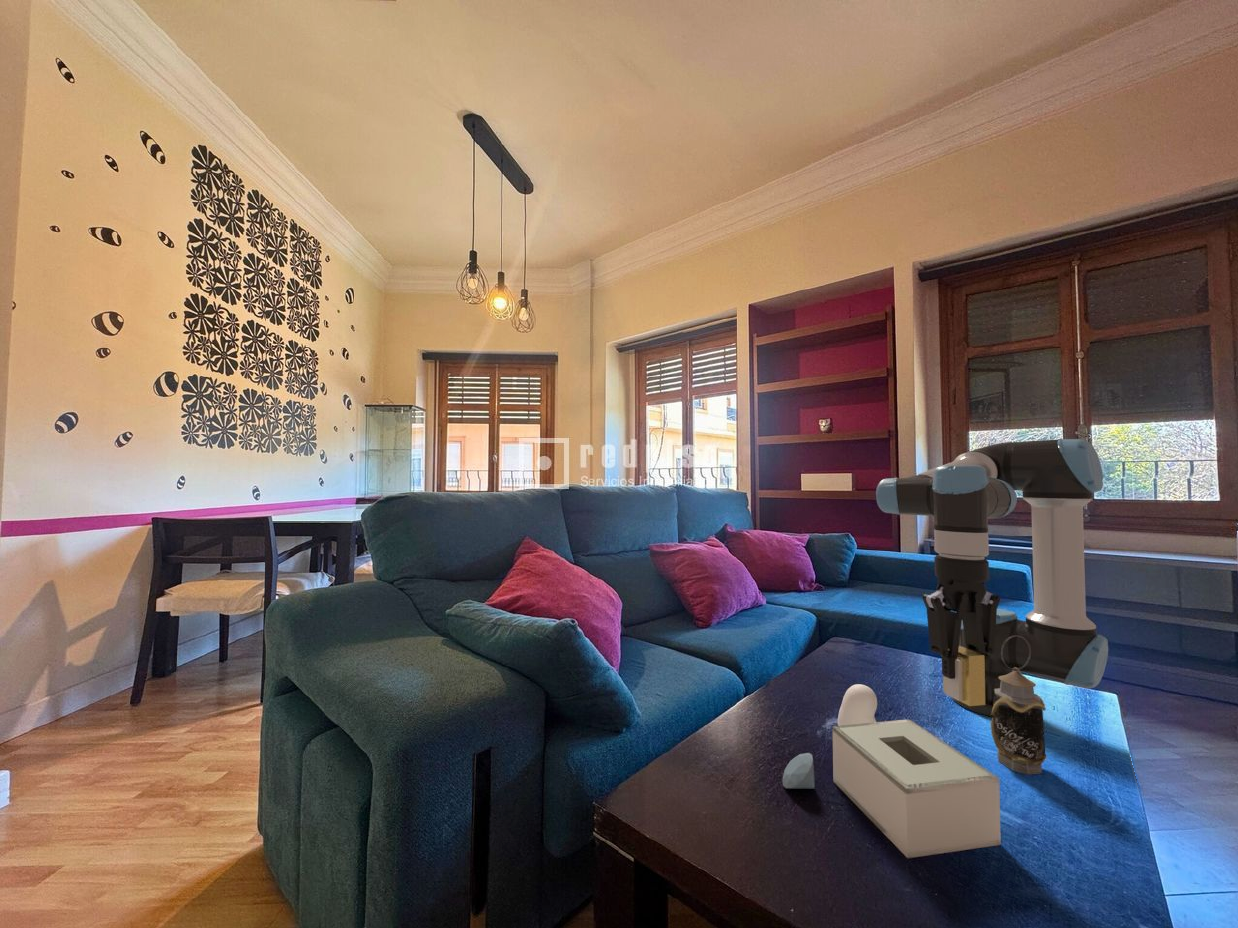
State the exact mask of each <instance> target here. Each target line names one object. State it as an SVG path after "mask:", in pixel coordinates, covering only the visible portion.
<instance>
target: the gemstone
mask: <svg viewBox="0 0 1238 928" xmlns="http://www.w3.org/2000/svg"><path fill="white" fill-rule="evenodd" d="M814 768H815V767H814V757H813V755H812V753H810V752H805V753H799V754H798V755H796V756H795V757H794V758H792V759H791V760H790V761H789V763H787V765H786V767H785V768H784V771H783V775H782V787H784V788H785V789H813V790H814V789H815V771H814V770H815V769H814Z"/></svg>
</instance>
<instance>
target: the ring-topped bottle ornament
mask: <svg viewBox="0 0 1238 928" xmlns="http://www.w3.org/2000/svg"><path fill="white" fill-rule="evenodd" d="M1012 637H1021V638H1023V637H1022V636H1019V635H1015V636H1011V637H1009V638H1008V639H1006V640H1005V642H1004V643H1003V645H1002V649H1001V658H1002V661H1003V663H1004V664H1005V665H1006V663H1005V661H1004V659H1003V648H1004V645H1005V643H1006V642H1007V641H1008V640H1009V639H1010V638H1012ZM1023 639H1024V640H1025V641H1026V642H1027V644H1028V647H1029V658H1028V660H1027V662H1026V664H1025V665H1024V666H1022V667H1021V668H1019V669H1018V668H1016V667H1015V668H1010V667H1008V666H1007V665H1006V666H1007V667H1008V668H1009V669H1011V670H1012V672H1011V673H1009V674H1007V675H1003V676H999V677H998V678H999V679H1000V680H1001V684H1000V689H995V694H996V696H995V697H994V700H993V709H992V713H991V715H993V717H992V718H991V720H990V733H991V735H992V740H993V742H994V744H995V747H996V748H997V749H996V750H997V752H996V753H997V760H998V761H997V762H998V763H1000V764H1002V765H1003V766H1005V767H1007V768H1008V769H1010V770H1011V771H1014V772H1018V773H1021V774H1024V775H1027V776H1028V775H1030V776H1031V775H1036V774H1037V775H1038V774H1042V773H1043V769H1042V764H1043V763H1044V762H1045V761H1046V759H1047V756H1048V755H1047V754H1046V744H1045V743H1046V741H1045V728H1044V727H1045V726H1044V712H1043V711H1046V710H1047V708H1046V706H1045V705H1046V704H1045V702H1044V700H1043V699H1042V697H1040V696H1039V695H1038V694H1036V693H1035V689H1034V687H1036V683H1035V682H1034V681H1032V680H1031V679H1029V678H1027V677H1026V676H1025V675H1024V674H1023V673H1022V672H1021V671H1020V669H1023V668H1024V667H1025V666H1026V665H1027V664H1028V662H1029V660H1030V657H1031V648H1030V645H1029V643H1028V641H1027V640H1026V639H1025V638H1023ZM1014 670H1018V671H1014Z"/></svg>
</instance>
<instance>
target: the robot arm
mask: <svg viewBox="0 0 1238 928" xmlns="http://www.w3.org/2000/svg"><path fill="white" fill-rule="evenodd" d="M1103 480H1104V474H1103V469H1102V464H1101V461H1100V458H1099V455H1098V452H1097V450H1096V448H1095V447H1094V446H1093V445H1092V443H1090V442H1089V441H1088V440H1085V439H1082V438H1081V439H1079V438H1074V439H1073V438H1067V439H1066V438H1060V439H1059V438H1058V439H1046V440H1044V439H1043V440H1042V439H1041V440H1030V441H1029V440H1027V441H1007V442H999V443H994V444H989V445H986V446H982V447H979V448H976V449H973V450H970V451H969V450H968V451H967V452H964V453H961V454H959V455H958V456H957V457H956V458H955V459H954V460H953V461H951V462H948V463H946V464H943V465H942V464H941V465H940V466H938V467H934V468H931V469H928V470H925V471H923V472H920V473H918V474H914V475H912V476H908V477H899V478H898V477H894V478H893V477H891V478H884V479H882V480H880V481H879V483H878V484H877V487H876V492H875V496H876V497H875V498H876V504H877V507H878V508H879V509H880V510H881V511H882V512H883V513H886V514H894V515H895V514H896V515H897V516H901V515H905V516H906V515H909V516H910V515H911V516H930V517H933V524H934V525H933V530H934V531H933V536H934V538H933V539H934V540H933V541H934V543H933V544H934V546H933V547H934V548H933V551H934V552H935V553H937V555H935V556H934V558H933V559H934V565H933V566H934V576H936V578H937V580H938V582H937V583H938V584H937V585H936V589H935V592H933V593H931V594H927V593H925V594H922V597H921V598H922V601H923V603H924V605H925V607H926V617H927V628H928V640H929V650H930V651H931V653H935V654H937V655H939V656H940V657H941V674H942V677H943V676H945V693H944V694H945V695H946V696H948V697H951V699H952V700H953V702H955V703H956V704H958V705H959V706H961V707H963V708H965V709H967V710H969V711H972V712H974V713H977V714H980V715H984V716H987V717H992V718H993V715H991V713H992V709H993V700H994V697H995V696H996V694H995V689H1000V684H1001V680H1000V679H999V678H998V677H999V676H1003V675H1007V674H1009V673H1011V672H1012V670H1011V669H1009V668H1008V667H1010V668H1015V667H1016V668H1018V669H1019V668H1021V667H1022V666H1024V665H1025V664H1026V662H1027V660H1028V658H1029V647H1028V644H1027V642H1026V641H1025V640H1024V639H1023V638H1025V639H1026V640H1027V641H1028V643H1029V645H1030V648H1031V657H1030V660H1029V662H1028V664H1027V665H1026V666H1025V667H1024V668H1023V669H1020V672H1021V673H1025V674H1029V675H1033V676H1036V677H1040V678H1043V679H1048V680H1052V681H1053V682H1059V683H1062V684H1064V685H1067V686H1074V687H1079V688H1083V689H1093V688H1095V687H1097V686H1098V685H1099V684H1100V682H1101V681H1102V678H1103V676H1104V672H1105V671H1106V670H1105V669H1106V666H1107V662H1108V656H1109V645H1108V644H1109V642H1108V639H1107V638H1106V637H1105V636H1103V635H1101V634H1098V633H1097V625H1096V624H1095V623H1094V622H1093V621H1091V619H1090V618H1088V617H1087V611H1086V610H1087V609H1086V608H1087V607H1086V606H1087V605H1086V604H1087V602H1086V575H1085V573H1086V572H1085V571H1086V569H1085V568H1086V567H1085V544H1084V543H1085V539H1084V537H1085V536H1084V534H1085V533H1084V531H1085V530H1084V507H1085V506H1087V505H1088V504H1089V503H1090V502H1092V501H1093V493H1097V492H1101V490H1102V489H1103V486H1104V482H1103ZM1016 491H1021V492H1022V500H1024V502H1026V503H1028V504H1030V507H1031V535H1032V536H1031V539H1032V541H1031V542H1032V575H1033V576H1032V578H1033V579H1032V580H1033V582H1032V583H1033V609H1032V610H1031V611H1030V612H1028V613H1027V614H1025V620H1021V619H1018V618H1019V617H1018V615H1017V613H1016V612H1015V611H1014V610H1013V611H1012V610H1010V609H1009V610H1008V609H1003V608H999V604H1000V602H1001V596H1000V595H998V594H995V593H991V592H989V591H987V588H986V585H985V583H987V582H988V581H989V580H990V568H989V567H990V565H989V563H990V561H988V559H986V558H985V557H988V556H989V555H990V551H989V550H990V549H989V548H990V547H989V520H997V519H1001V518H1003V517H1006V516H1007V515H1010V513H1012V512H1013V511H1014V510H1015V508H1016V506H1017V502H1018V496H1017V492H1016ZM1015 635H1019V636H1022V637H1023V638H1021V637H1012V638H1010V639H1009V640H1008V641H1007V642H1006V643H1005V645H1004V648H1003V659H1004V661H1005V663H1006V665H1007V666H1008V667H1007V666H1006V665H1005V664H1004V663H1003V661H1002V658H1001V649H1002V645H1003V643H1004V642H1005V640H1006V639H1008V638H1009V637H1011V636H1015ZM959 646H962V647H964V648H967V649H970V650H972V651H975V652H977V653H980V654H983V655H984V660H985V705H978V706H968V705H966V704H964V703H963V702H961V701H963V684H962V660H959V659H957V657H958V649H959ZM948 649H949V650H948ZM1014 671H1018V670H1014ZM1018 672H1019V671H1018Z"/></svg>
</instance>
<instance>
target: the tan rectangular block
mask: <svg viewBox="0 0 1238 928" xmlns="http://www.w3.org/2000/svg"><path fill="white" fill-rule="evenodd" d="M948 650H949V649H948ZM957 659H959V660H962V684H963V701H961V702H963V703H964V704H966V705H968V706H978V705H985V660H984V655H983V654H980V653H977V652H975V651H972V650H970V649H967V648H964V647H962V646H959V649H958V657H957ZM942 679H943V680H942V685H943V686H942V688H943V689H942V690H943V691H942V692H943V694H945V676H943V675H942Z"/></svg>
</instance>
